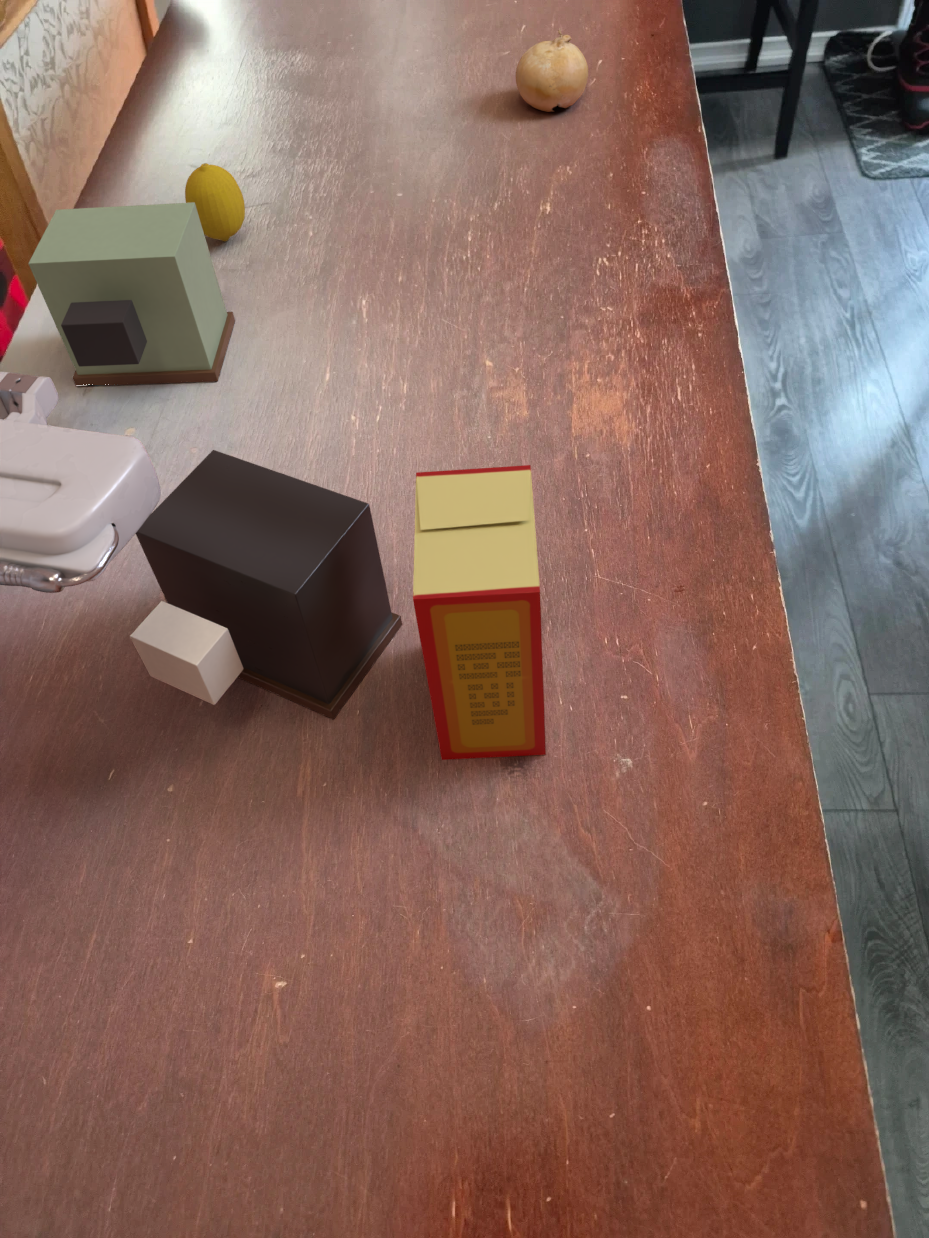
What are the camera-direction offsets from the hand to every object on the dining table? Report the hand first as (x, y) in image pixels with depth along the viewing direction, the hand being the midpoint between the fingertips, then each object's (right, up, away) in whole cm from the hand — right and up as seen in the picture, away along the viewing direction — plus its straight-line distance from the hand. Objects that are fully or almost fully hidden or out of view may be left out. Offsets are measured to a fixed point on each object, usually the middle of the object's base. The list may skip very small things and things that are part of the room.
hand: (32, 384), depth 59 cm
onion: (+34, +45, +61) cm, 83 cm away
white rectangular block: (+8, -16, +6) cm, 19 cm away
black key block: (+12, -14, +15) cm, 24 cm away
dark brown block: (-4, +8, +27) cm, 29 cm away
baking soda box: (+26, -18, +11) cm, 33 cm away
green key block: (-4, +11, +37) cm, 39 cm away
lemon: (0, +25, +48) cm, 54 cm away
